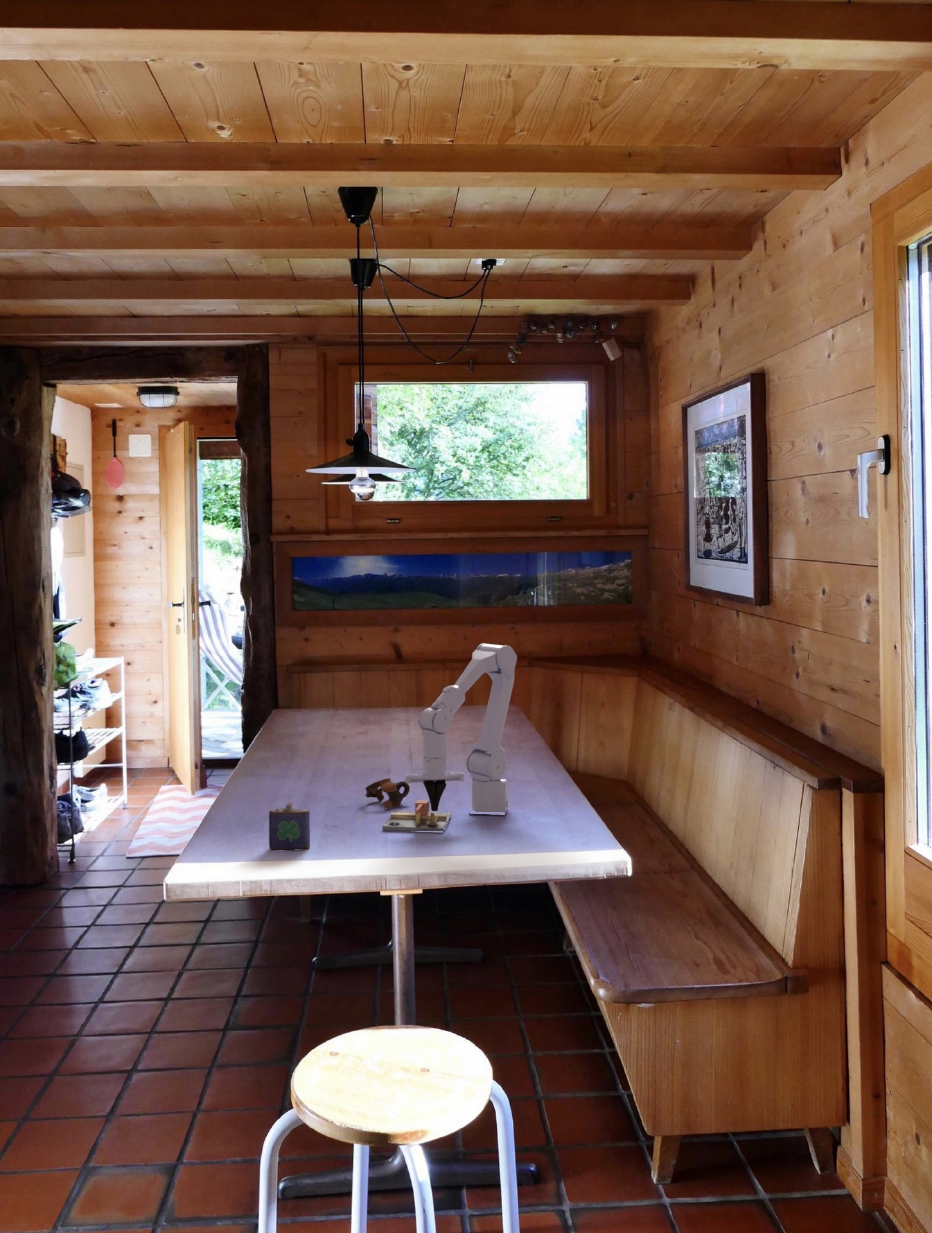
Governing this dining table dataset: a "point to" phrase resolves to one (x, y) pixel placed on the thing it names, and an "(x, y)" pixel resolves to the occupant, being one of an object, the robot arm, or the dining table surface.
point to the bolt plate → (414, 824)
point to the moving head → (421, 809)
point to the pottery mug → (388, 792)
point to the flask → (289, 828)
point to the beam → (431, 817)
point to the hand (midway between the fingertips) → (434, 810)
